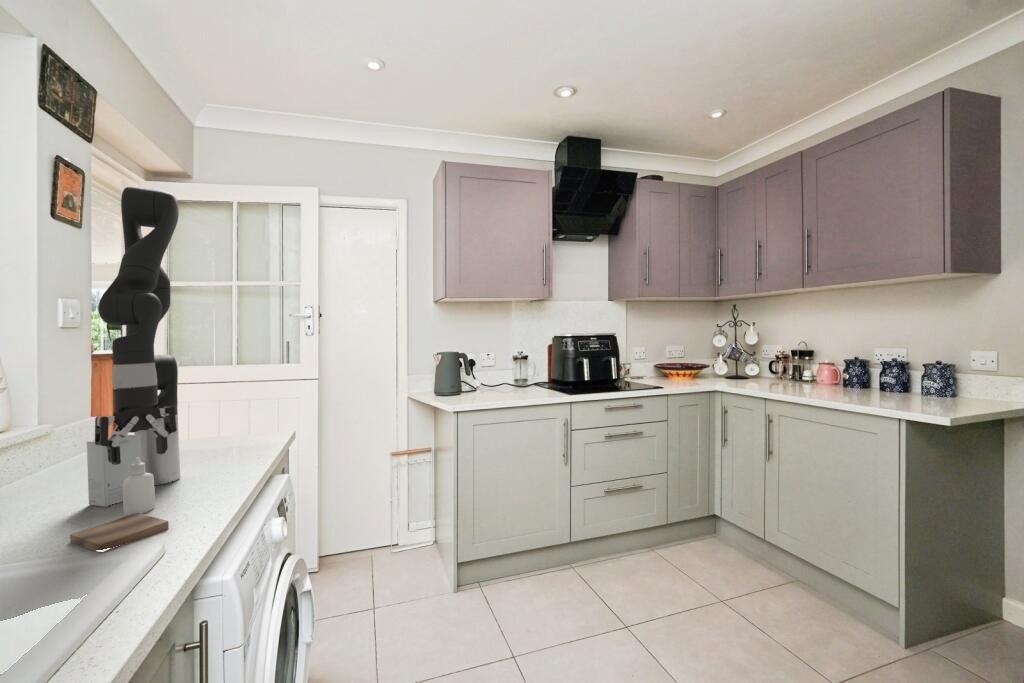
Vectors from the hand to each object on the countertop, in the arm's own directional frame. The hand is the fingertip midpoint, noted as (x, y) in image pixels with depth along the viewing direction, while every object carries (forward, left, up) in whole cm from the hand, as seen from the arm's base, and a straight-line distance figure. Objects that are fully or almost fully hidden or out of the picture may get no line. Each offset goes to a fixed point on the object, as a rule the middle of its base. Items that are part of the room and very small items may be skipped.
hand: (139, 458), depth 101 cm
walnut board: (+10, -8, -12) cm, 17 cm away
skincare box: (-14, +2, -12) cm, 19 cm away
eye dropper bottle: (0, 0, -12) cm, 12 cm away
